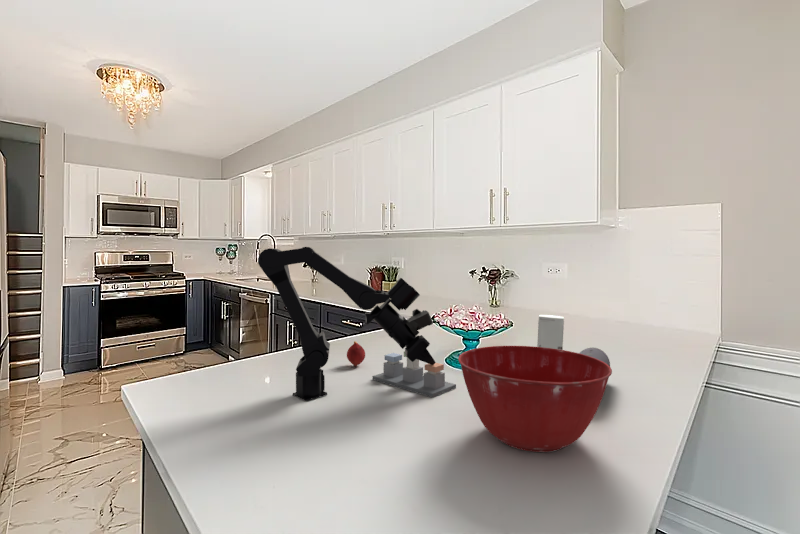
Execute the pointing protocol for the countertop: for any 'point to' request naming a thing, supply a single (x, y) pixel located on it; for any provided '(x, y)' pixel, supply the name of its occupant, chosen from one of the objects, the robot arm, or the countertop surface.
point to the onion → (356, 354)
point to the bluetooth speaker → (596, 354)
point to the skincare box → (550, 331)
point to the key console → (414, 380)
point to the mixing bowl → (534, 393)
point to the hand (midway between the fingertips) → (434, 363)
